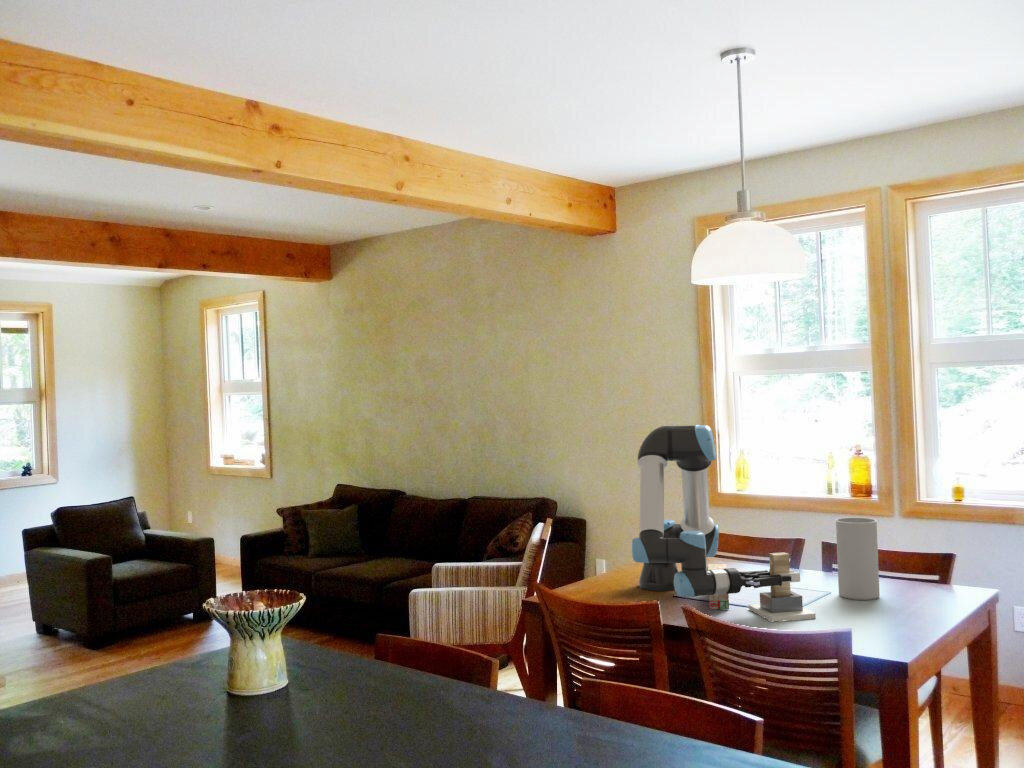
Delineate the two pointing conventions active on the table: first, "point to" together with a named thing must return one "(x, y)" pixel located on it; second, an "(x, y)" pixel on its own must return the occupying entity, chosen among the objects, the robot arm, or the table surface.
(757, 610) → the base board
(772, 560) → the ash slat
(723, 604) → the stack of blocks
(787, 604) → the grey rectangular socket
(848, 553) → the cylinder vase
